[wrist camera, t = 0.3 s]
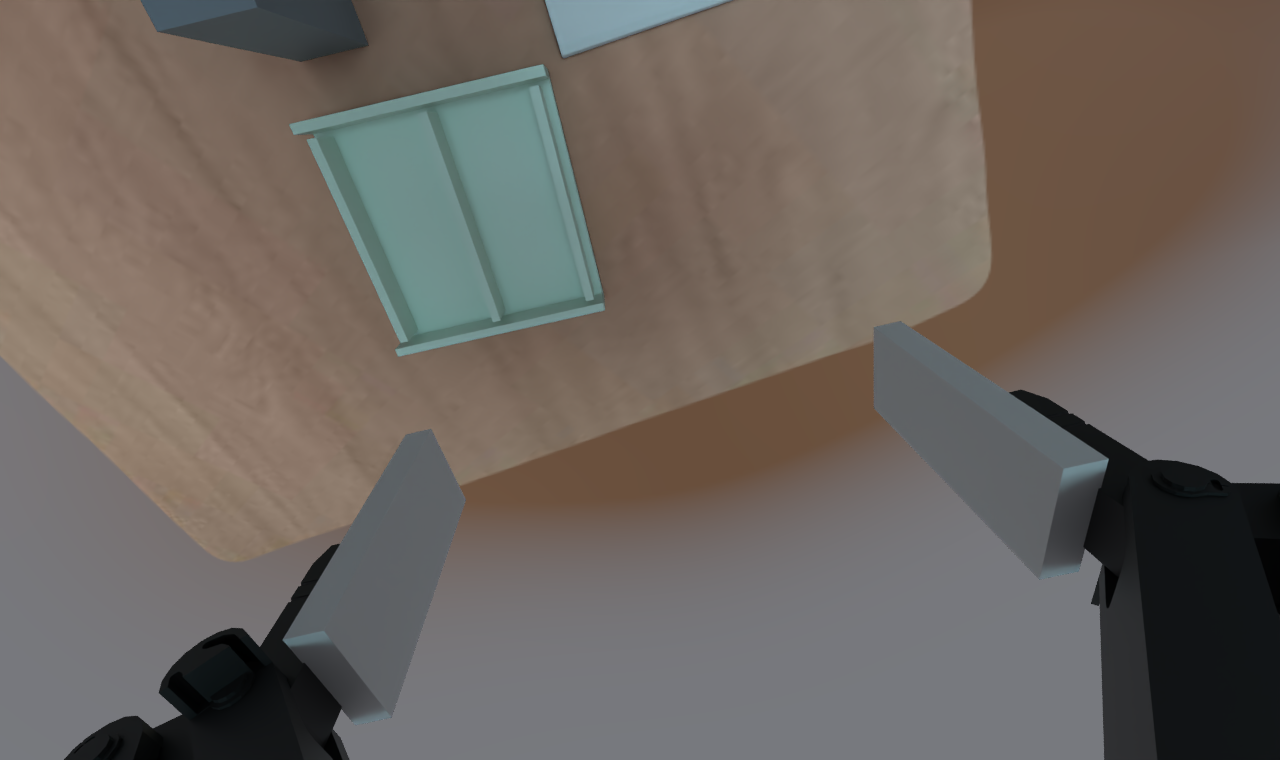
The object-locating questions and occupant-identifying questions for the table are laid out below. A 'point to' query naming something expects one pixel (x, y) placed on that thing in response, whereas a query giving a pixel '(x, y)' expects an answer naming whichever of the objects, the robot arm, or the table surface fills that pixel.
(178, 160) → the table surface
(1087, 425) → the robot arm
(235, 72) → the table surface
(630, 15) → the external hard drive
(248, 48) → the blue-grey rectangular block
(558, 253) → the green divided tray
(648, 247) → the table surface
